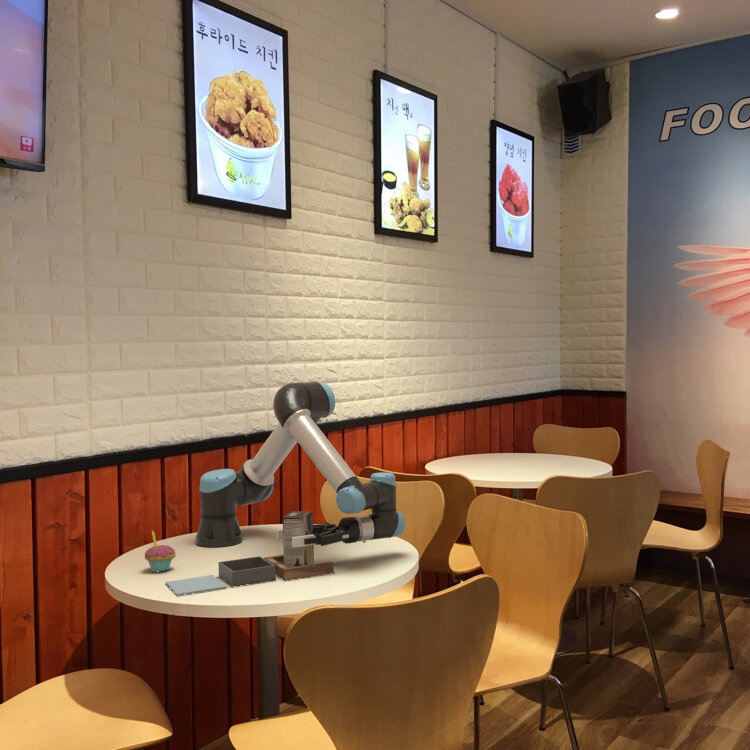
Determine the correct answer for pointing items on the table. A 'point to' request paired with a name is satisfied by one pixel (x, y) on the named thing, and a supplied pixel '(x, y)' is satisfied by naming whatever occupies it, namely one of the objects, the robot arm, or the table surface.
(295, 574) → the walnut slot
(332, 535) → the robot arm
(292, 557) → the coffee box
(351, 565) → the table surface
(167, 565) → the cupcake
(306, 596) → the table surface
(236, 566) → the bin
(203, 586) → the mat
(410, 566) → the table surface
